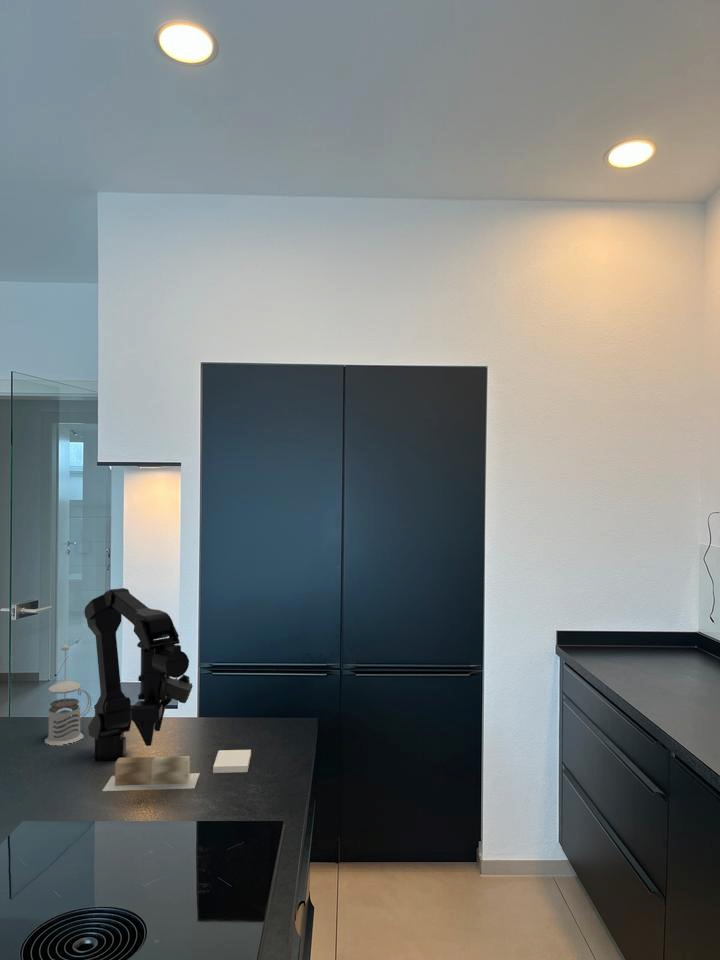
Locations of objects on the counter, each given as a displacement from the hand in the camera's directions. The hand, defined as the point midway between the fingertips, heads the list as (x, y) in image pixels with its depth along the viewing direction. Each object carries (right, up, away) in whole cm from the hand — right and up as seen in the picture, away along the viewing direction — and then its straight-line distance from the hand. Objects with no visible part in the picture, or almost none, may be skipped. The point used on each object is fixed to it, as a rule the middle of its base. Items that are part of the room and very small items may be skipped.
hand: (153, 738), depth 154 cm
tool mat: (0, -11, 0) cm, 11 cm away
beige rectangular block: (0, -10, 0) cm, 10 cm away
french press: (-32, -11, +28) cm, 44 cm away
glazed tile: (+12, -10, +10) cm, 19 cm away
